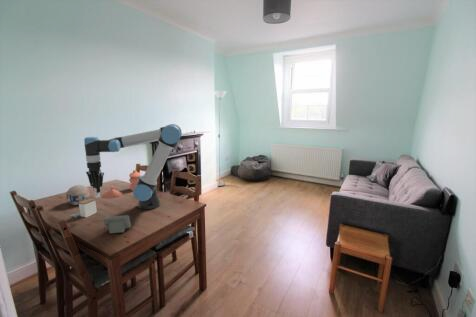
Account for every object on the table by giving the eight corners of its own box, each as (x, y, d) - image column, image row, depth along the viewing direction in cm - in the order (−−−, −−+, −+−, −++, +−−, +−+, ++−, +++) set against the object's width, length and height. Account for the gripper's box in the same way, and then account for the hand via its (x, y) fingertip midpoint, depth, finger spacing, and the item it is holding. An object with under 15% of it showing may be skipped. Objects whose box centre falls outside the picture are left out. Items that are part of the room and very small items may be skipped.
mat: (91, 210, 165) (90, 209, 165) (74, 217, 154) (74, 216, 154) (80, 208, 168) (80, 207, 168) (63, 214, 157) (63, 214, 157)
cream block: (96, 213, 161) (95, 199, 159) (86, 217, 153) (84, 203, 151) (91, 212, 162) (89, 198, 160) (80, 216, 155) (78, 202, 153)
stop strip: (93, 210, 165) (93, 208, 165) (75, 217, 153) (75, 215, 153) (91, 209, 165) (91, 208, 165) (73, 217, 153) (73, 215, 153)
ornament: (71, 202, 180) (69, 183, 177) (93, 199, 185) (91, 181, 182) (64, 209, 166) (61, 189, 163) (88, 207, 171) (85, 187, 168)
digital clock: (132, 227, 141) (131, 213, 139) (127, 233, 133) (125, 218, 132) (109, 227, 140) (107, 213, 139) (102, 233, 133) (100, 219, 131)
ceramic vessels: (103, 203, 177) (100, 179, 173) (94, 197, 191) (91, 174, 188) (147, 192, 202) (145, 171, 199) (136, 187, 216) (135, 167, 213)
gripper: (106, 161, 148) (110, 196, 153) (91, 159, 153) (95, 194, 157) (96, 163, 141) (100, 200, 146) (80, 161, 146) (85, 197, 150)
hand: (97, 197), depth 152 cm, fingers closed
